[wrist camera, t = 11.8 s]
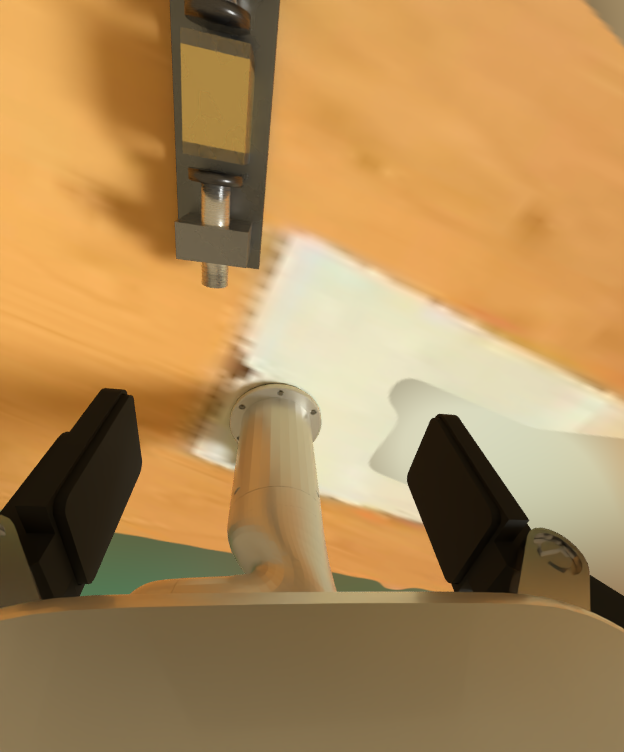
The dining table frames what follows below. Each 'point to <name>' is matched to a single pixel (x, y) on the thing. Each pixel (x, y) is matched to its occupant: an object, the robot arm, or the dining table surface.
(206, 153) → the two-tone brushed block
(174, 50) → the shaft stand
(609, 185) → the dining table surface
